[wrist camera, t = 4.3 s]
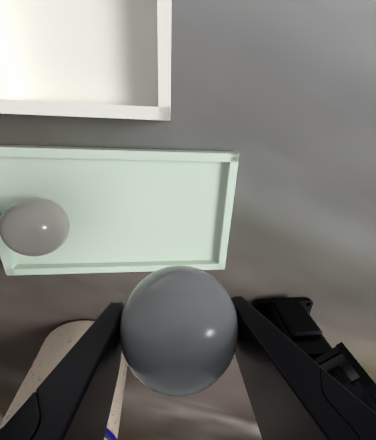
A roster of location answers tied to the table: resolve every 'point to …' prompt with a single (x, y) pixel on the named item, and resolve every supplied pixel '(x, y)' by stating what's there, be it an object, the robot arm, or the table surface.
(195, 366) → the pebble
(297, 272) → the table surface
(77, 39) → the open box
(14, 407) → the teacup with lid
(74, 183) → the tray
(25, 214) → the pebble
